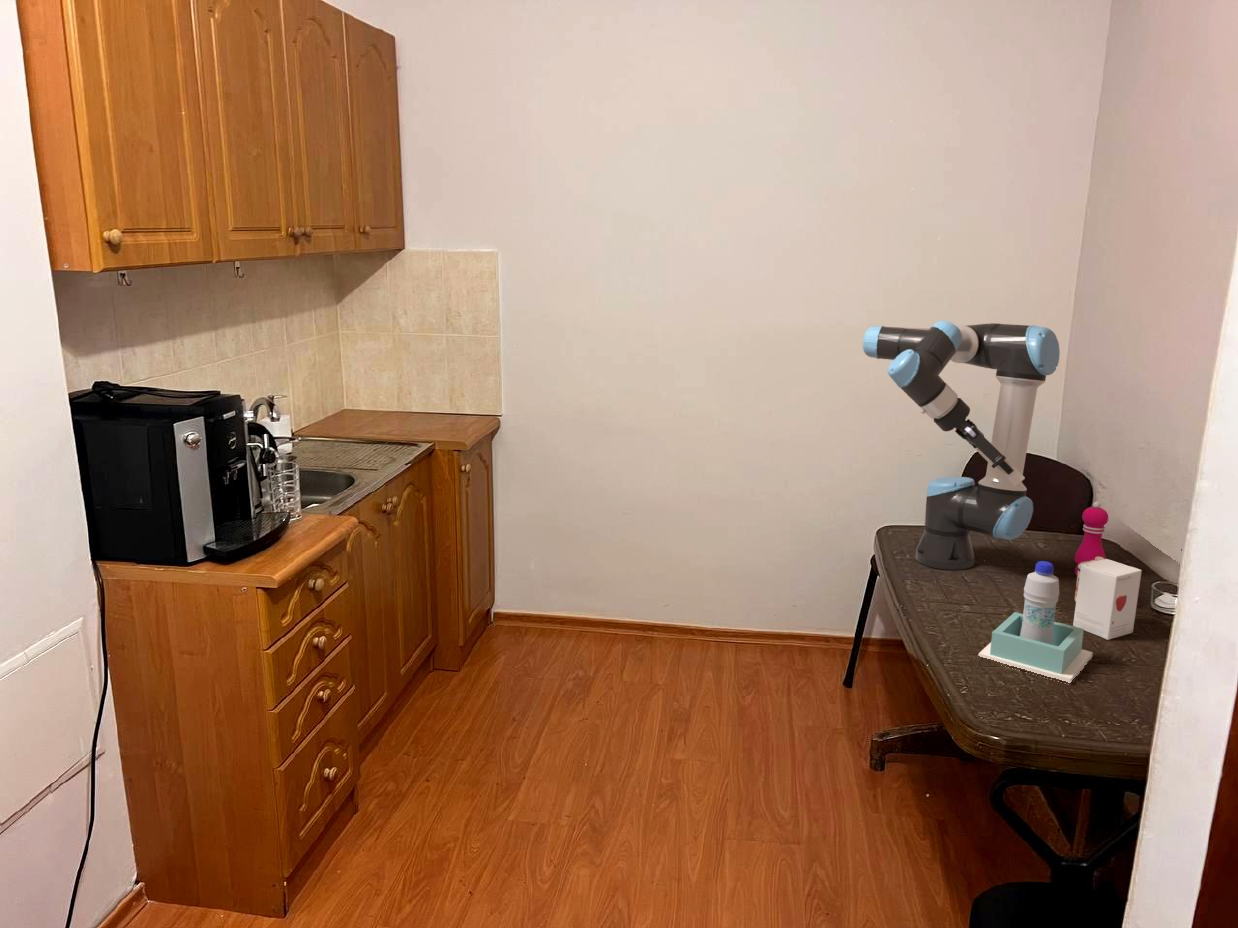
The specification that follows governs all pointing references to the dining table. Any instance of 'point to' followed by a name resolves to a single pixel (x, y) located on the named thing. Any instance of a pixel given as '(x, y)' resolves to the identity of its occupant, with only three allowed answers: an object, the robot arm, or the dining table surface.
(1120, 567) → the supplement box
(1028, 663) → the holder
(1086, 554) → the magenta tall rounded piece
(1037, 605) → the bottle
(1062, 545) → the dining table surface
